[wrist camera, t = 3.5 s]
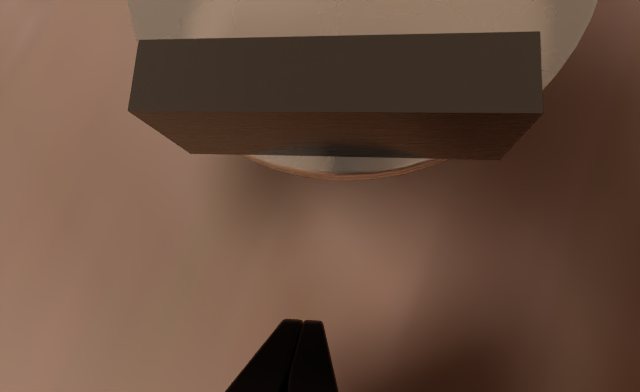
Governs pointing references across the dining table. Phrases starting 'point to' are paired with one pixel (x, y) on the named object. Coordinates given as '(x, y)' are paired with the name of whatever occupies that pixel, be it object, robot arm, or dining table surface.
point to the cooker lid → (349, 78)
